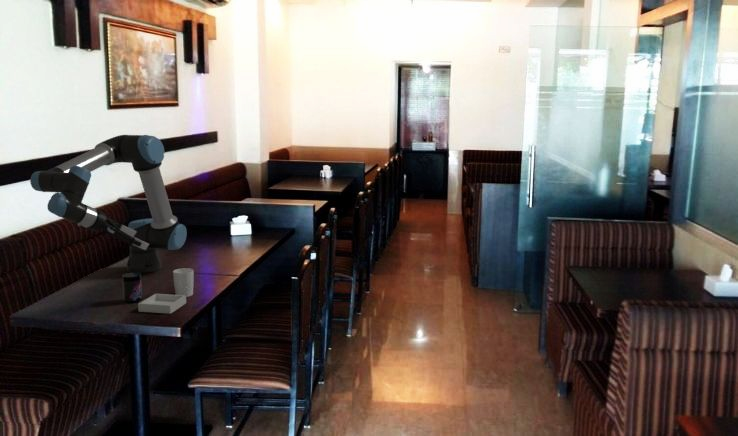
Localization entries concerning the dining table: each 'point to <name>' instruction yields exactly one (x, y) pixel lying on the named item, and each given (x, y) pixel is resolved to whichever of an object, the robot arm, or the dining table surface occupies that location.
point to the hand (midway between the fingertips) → (140, 240)
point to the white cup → (183, 281)
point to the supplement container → (132, 287)
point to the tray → (162, 303)
